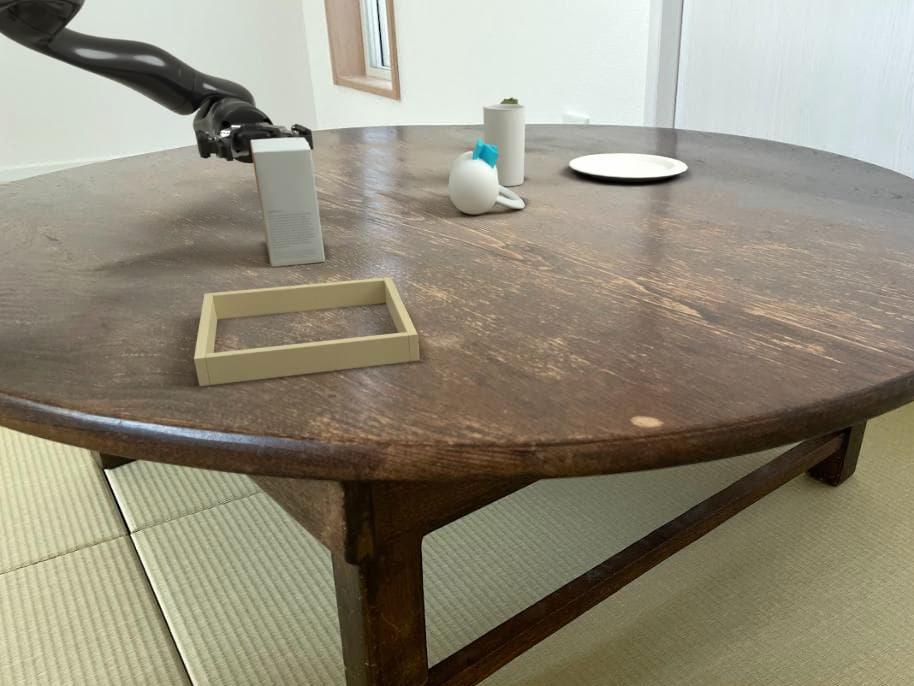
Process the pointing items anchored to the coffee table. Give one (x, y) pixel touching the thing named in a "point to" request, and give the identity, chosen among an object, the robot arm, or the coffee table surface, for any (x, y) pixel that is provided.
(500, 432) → the coffee table surface
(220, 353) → the rectangular frame
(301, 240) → the small box
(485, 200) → the mug
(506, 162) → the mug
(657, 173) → the plate
